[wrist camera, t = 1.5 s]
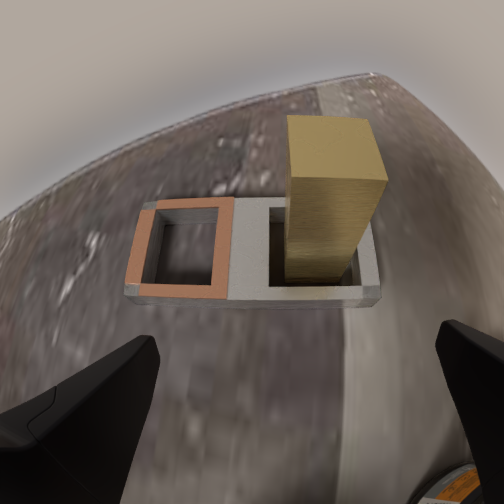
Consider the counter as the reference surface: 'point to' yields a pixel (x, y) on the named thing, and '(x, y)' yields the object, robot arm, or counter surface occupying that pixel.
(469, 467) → the supplement container
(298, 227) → the tan block
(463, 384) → the robot arm
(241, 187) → the counter surface
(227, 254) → the divided tray
